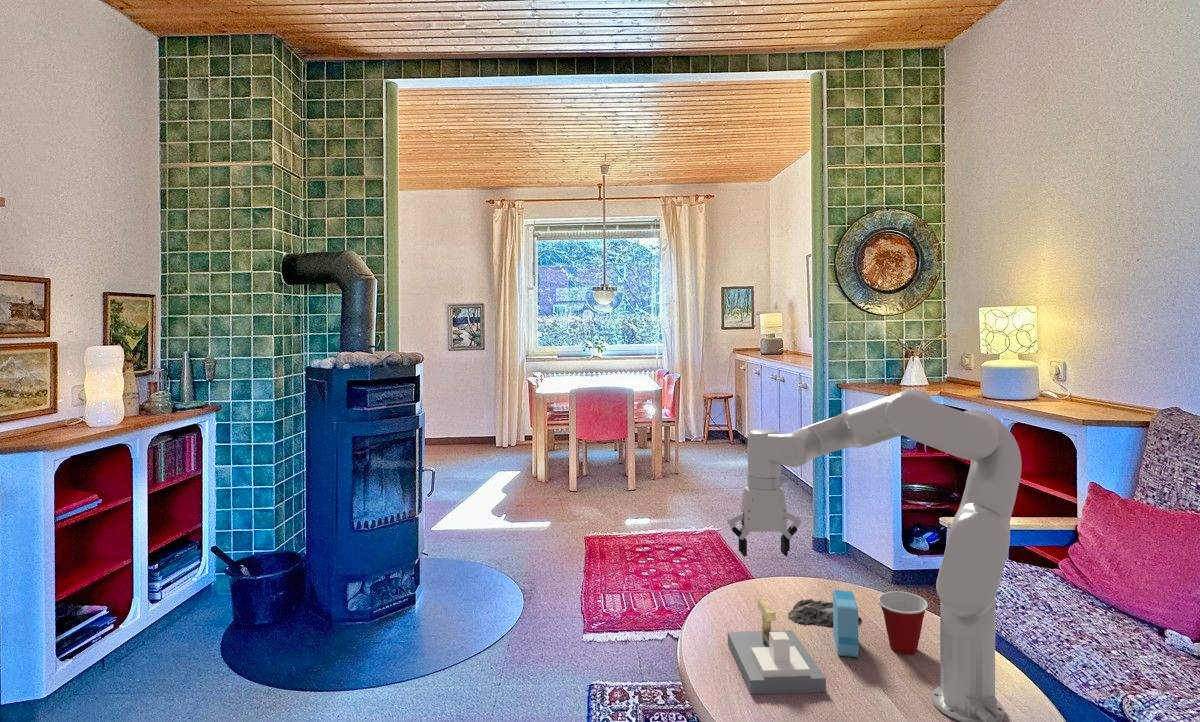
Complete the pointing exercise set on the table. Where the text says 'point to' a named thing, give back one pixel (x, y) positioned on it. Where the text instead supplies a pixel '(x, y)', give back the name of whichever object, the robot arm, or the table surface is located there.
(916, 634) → the plastic cup
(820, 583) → the table surface
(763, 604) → the tan t-shaped piece
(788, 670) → the lid
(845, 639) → the data package
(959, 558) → the robot arm
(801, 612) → the geode
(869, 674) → the table surface
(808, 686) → the plate
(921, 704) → the table surface
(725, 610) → the table surface
